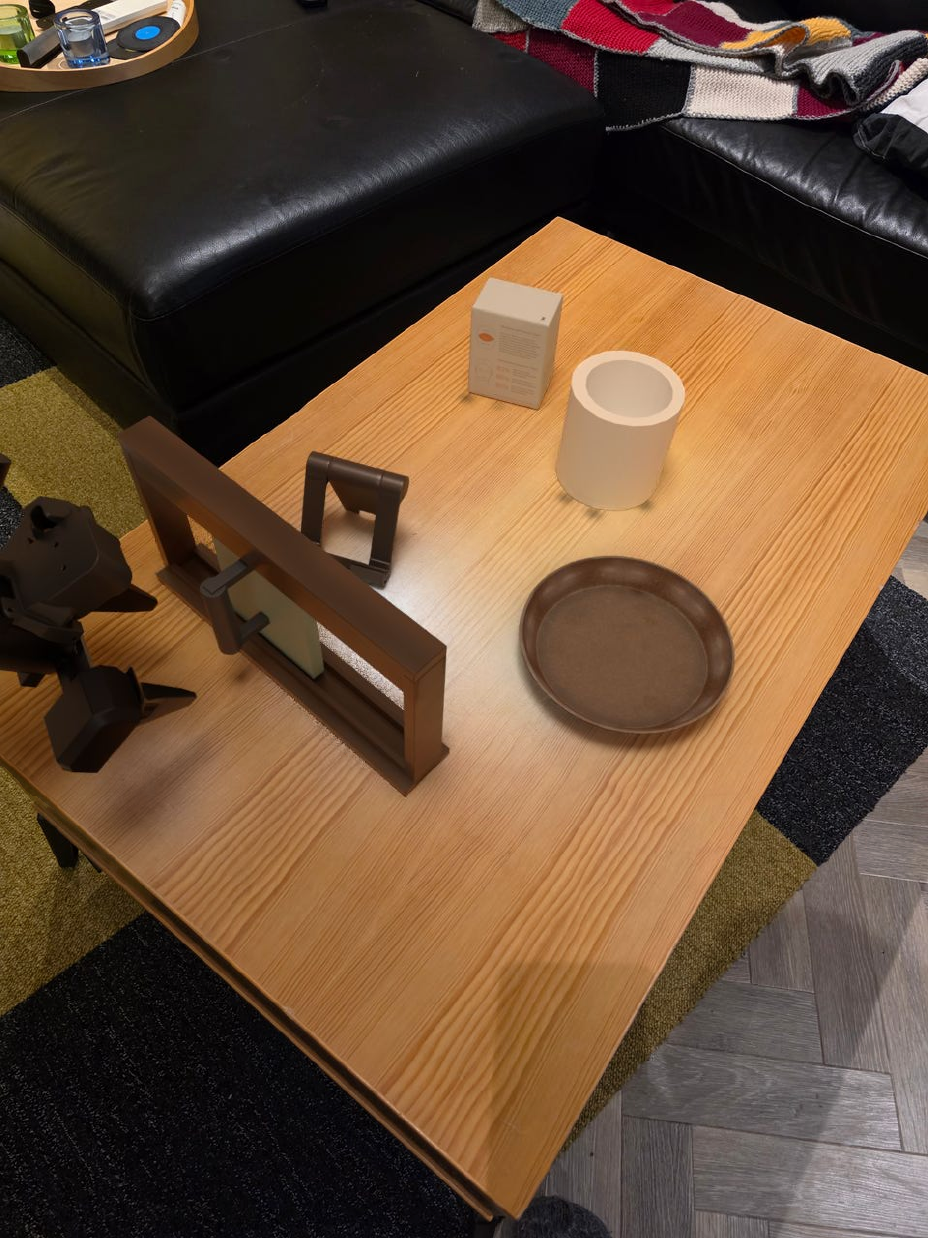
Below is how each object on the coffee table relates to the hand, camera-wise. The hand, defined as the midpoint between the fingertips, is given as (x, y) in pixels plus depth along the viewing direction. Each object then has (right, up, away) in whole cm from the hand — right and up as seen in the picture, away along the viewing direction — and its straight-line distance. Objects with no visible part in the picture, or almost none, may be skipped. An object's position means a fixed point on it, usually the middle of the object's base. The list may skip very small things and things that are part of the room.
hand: (173, 650), depth 64 cm
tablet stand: (+11, +9, +16) cm, 21 cm away
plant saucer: (+35, -1, +10) cm, 36 cm away
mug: (+36, +18, +23) cm, 46 cm away
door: (+4, -1, +7) cm, 8 cm away
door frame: (+7, -1, +8) cm, 11 cm away
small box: (+26, +27, +30) cm, 48 cm away
